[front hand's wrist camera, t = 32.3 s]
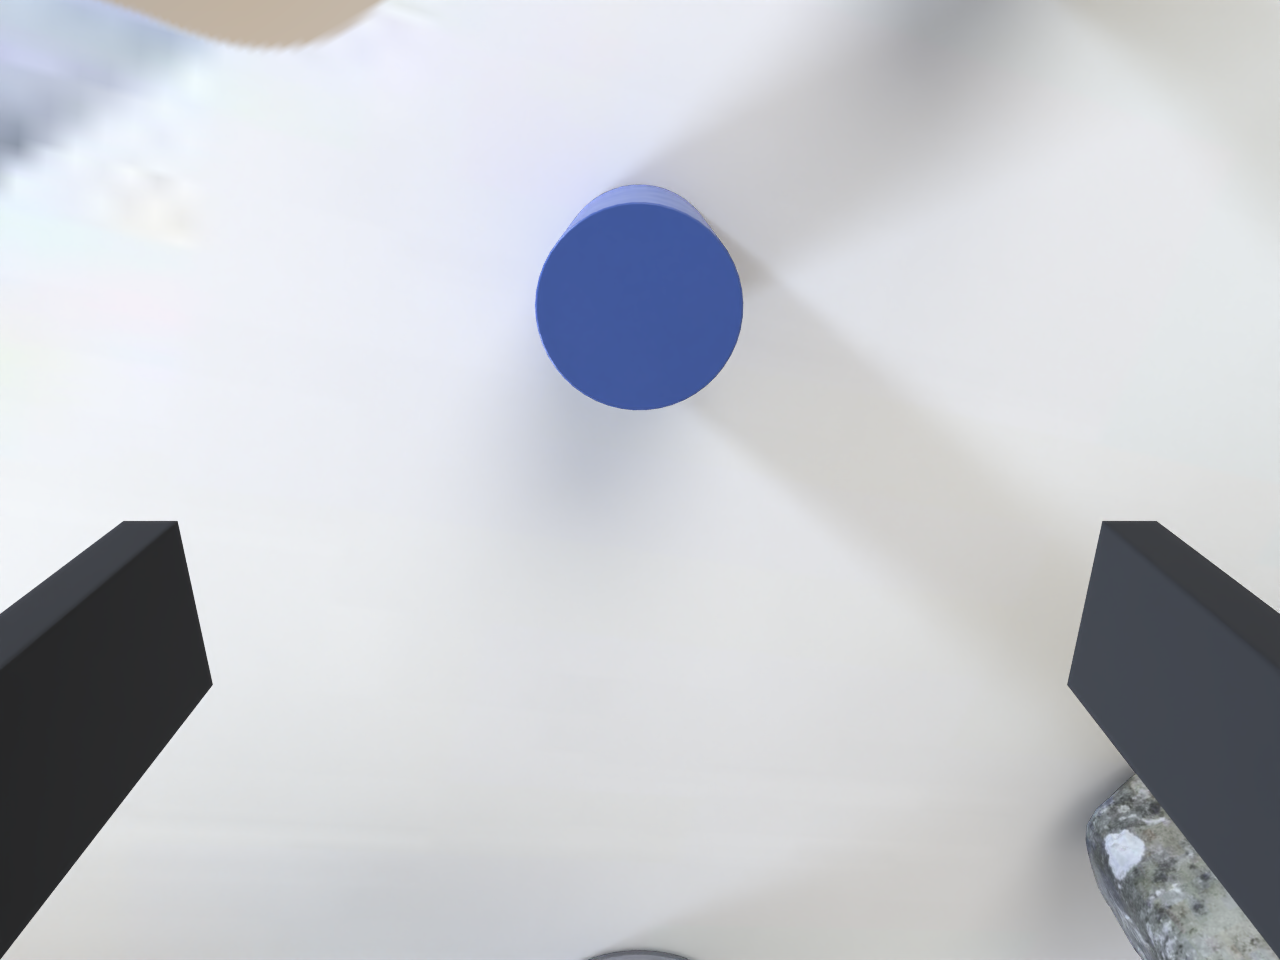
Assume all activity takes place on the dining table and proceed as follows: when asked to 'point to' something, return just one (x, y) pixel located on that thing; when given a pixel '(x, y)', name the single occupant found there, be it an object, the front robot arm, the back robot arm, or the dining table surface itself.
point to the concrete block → (1164, 885)
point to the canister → (639, 300)
